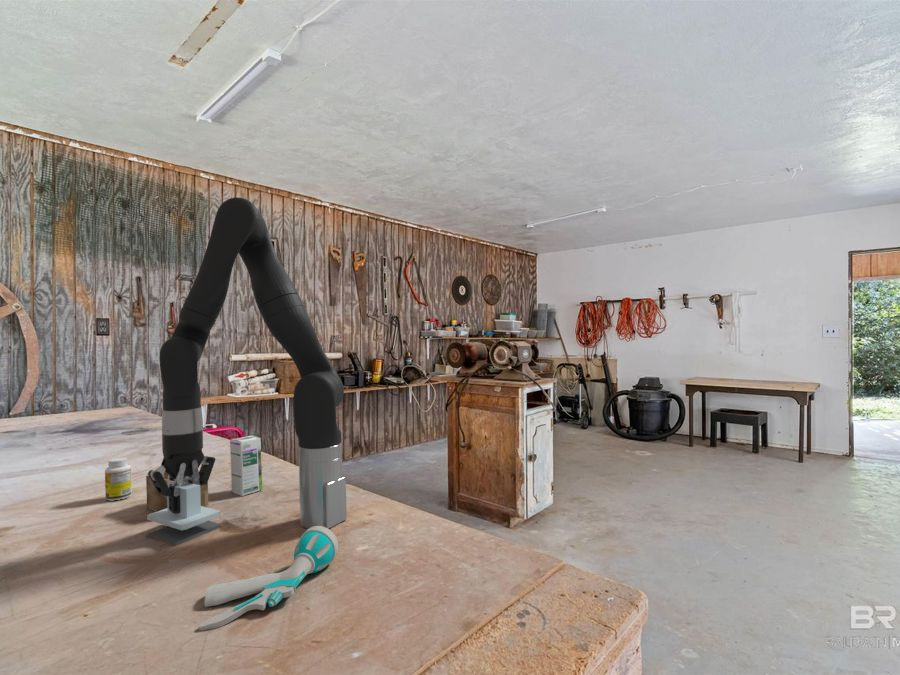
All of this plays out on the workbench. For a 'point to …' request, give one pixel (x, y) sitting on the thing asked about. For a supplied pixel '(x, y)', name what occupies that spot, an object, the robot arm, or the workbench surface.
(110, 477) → the supplement bottle
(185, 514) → the lid
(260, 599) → the garden hose nozzle
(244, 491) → the syrup box
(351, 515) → the workbench surface
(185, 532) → the mat
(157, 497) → the crate
